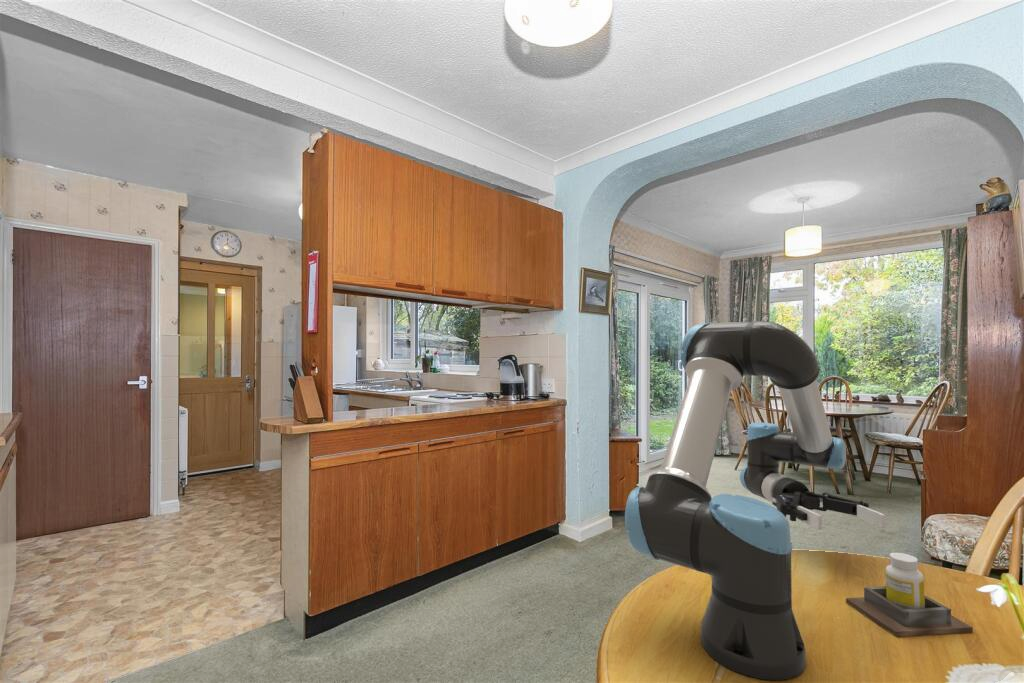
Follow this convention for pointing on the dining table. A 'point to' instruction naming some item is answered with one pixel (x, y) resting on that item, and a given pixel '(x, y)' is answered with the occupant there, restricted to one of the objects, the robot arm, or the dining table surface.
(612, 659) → the dining table surface
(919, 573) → the supplement bottle
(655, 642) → the dining table surface
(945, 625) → the collar holder
